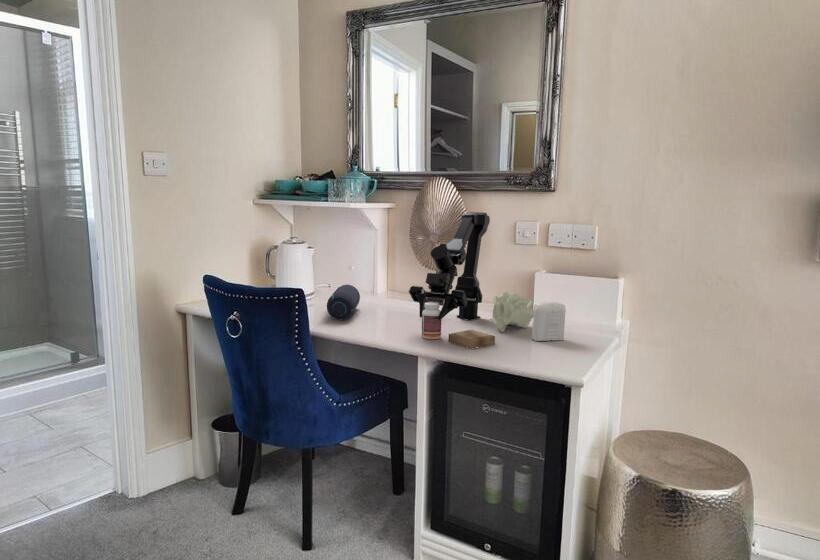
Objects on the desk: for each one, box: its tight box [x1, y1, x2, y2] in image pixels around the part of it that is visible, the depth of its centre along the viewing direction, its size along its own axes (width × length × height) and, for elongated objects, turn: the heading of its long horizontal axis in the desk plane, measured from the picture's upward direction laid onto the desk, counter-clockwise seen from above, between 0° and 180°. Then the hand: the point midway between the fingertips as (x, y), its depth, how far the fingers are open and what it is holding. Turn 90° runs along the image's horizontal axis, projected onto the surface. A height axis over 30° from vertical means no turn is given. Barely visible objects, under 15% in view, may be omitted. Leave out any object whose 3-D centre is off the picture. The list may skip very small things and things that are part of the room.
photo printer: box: [531, 300, 566, 342], centre depth 178 cm, size 10×4×12 cm, turn 103°
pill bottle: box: [421, 301, 442, 340], centre depth 178 cm, size 6×6×11 cm
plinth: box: [447, 329, 496, 349], centre depth 173 cm, size 10×10×3 cm
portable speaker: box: [326, 284, 361, 321], centre depth 208 cm, size 25×10×10 cm, turn 179°
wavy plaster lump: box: [491, 291, 534, 333], centre depth 192 cm, size 18×13×16 cm
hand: (429, 317), depth 176 cm, fingers closed on pill bottle, 6 cm apart
